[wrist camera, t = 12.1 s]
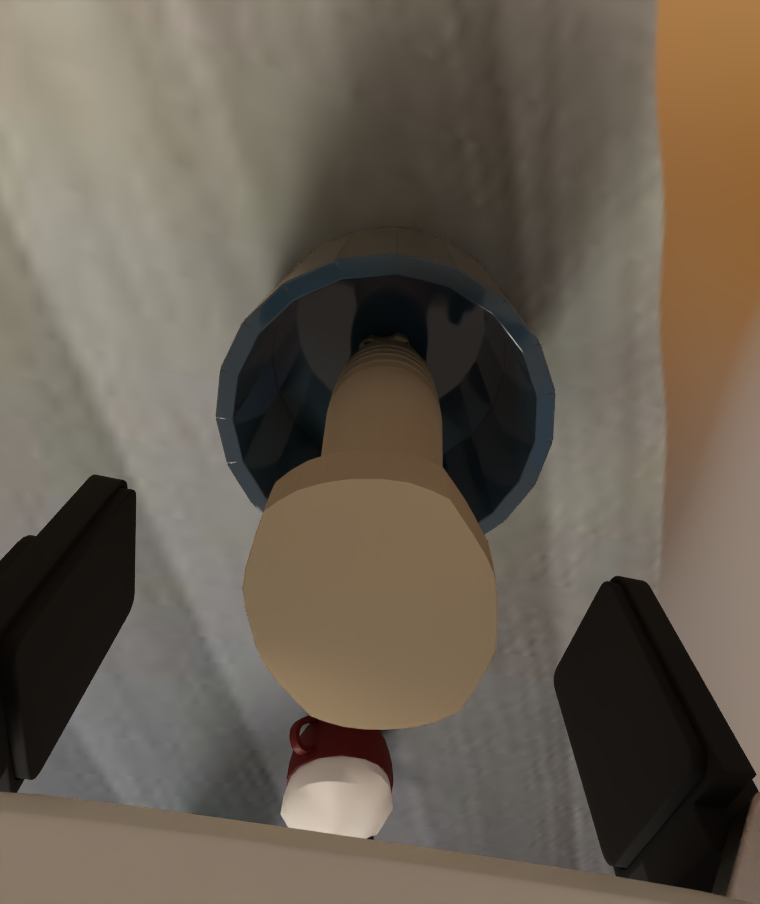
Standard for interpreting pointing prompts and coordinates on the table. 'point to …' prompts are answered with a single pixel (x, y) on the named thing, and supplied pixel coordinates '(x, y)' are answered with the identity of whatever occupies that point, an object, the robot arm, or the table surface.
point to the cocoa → (337, 780)
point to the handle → (374, 559)
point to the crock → (428, 331)
